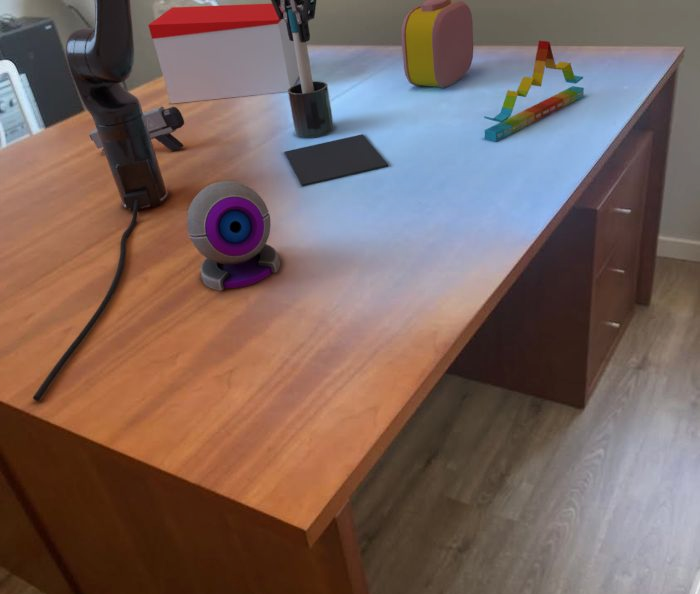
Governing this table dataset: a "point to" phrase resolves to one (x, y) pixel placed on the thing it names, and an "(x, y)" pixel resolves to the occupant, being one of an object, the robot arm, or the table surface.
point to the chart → (541, 109)
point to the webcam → (231, 235)
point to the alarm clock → (437, 43)
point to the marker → (301, 55)
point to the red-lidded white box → (224, 52)
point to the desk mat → (334, 159)
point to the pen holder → (311, 110)
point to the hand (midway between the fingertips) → (299, 40)
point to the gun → (157, 127)
